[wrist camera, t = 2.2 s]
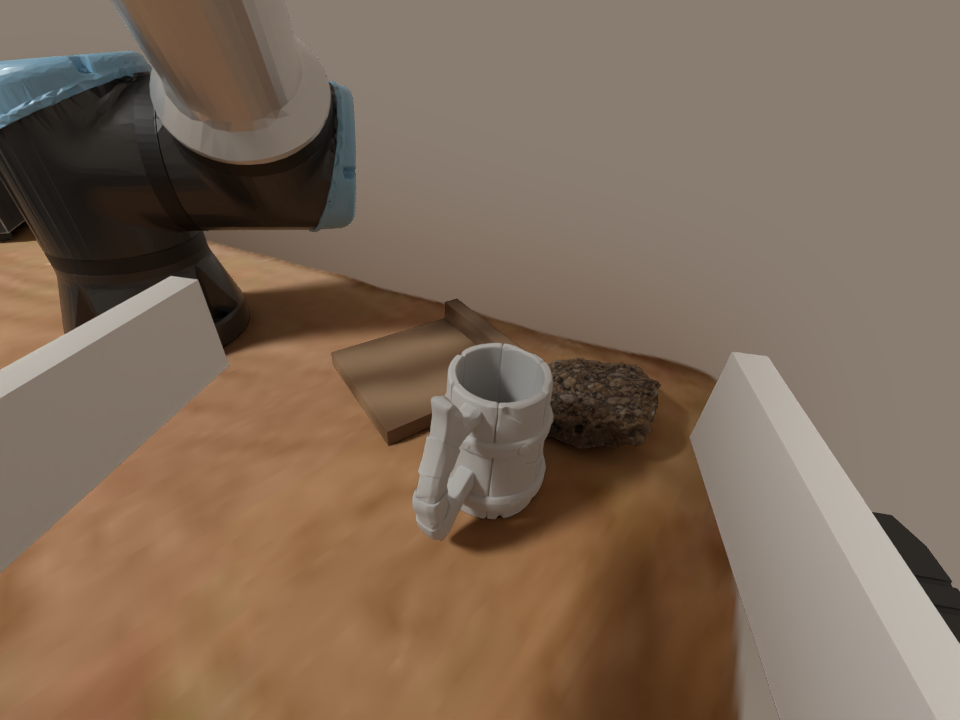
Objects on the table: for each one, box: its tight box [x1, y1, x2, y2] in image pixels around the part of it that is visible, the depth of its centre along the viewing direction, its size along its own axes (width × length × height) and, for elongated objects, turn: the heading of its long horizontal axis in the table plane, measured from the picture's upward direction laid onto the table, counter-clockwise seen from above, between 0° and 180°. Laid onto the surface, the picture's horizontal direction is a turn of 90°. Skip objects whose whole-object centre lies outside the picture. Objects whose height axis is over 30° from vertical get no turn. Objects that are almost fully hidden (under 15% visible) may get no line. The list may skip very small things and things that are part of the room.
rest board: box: [331, 299, 522, 445], centre depth 39 cm, size 12×14×4 cm
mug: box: [413, 343, 554, 541], centre depth 26 cm, size 8×12×12 cm, turn 149°
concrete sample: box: [547, 358, 661, 449], centre depth 36 cm, size 12×10×5 cm
